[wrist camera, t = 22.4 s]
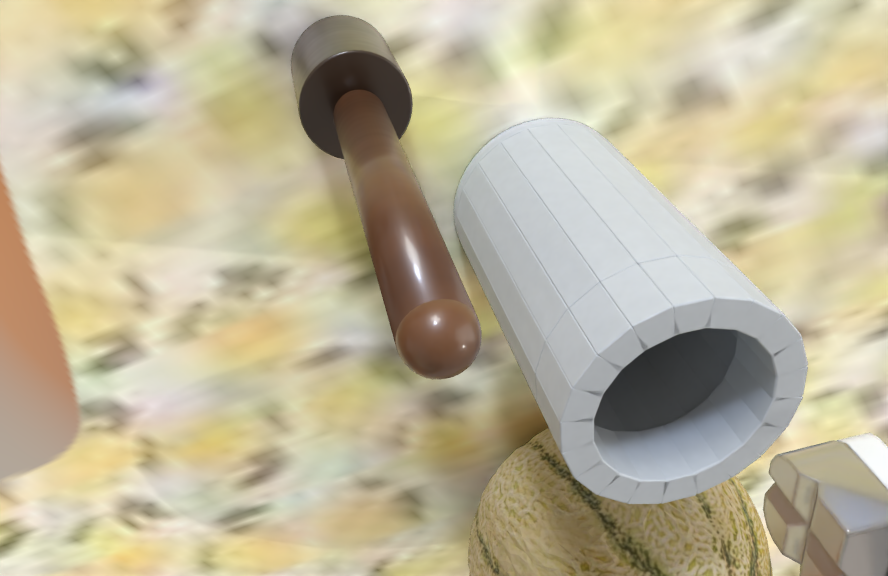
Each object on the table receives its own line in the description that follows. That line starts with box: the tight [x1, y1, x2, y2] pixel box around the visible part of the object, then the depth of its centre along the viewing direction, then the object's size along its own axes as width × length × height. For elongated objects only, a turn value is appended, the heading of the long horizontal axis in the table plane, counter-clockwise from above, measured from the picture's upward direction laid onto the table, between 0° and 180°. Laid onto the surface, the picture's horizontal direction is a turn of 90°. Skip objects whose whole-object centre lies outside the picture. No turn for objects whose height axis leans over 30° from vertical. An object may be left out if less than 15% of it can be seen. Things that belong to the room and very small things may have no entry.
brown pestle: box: [291, 15, 481, 379], centre depth 25 cm, size 4×4×20 cm
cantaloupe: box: [468, 428, 772, 576], centre depth 41 cm, size 15×15×15 cm
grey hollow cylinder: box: [454, 118, 808, 504], centre depth 32 cm, size 8×8×15 cm
